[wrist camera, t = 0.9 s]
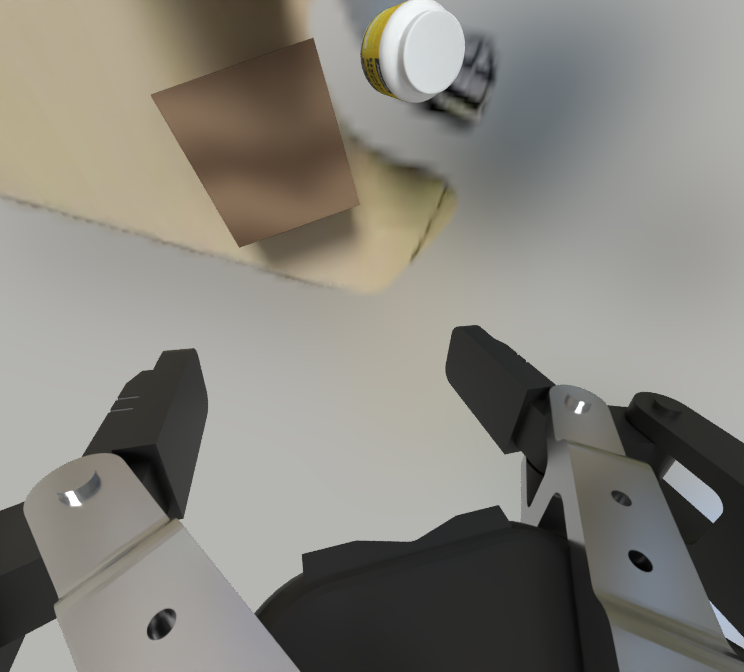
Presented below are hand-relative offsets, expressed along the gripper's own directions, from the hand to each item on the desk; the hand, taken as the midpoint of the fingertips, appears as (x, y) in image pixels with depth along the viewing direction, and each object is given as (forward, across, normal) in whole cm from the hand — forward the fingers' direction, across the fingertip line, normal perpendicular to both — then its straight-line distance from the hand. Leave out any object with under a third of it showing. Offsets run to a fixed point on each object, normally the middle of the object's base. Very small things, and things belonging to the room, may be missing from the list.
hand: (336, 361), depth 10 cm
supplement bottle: (+25, -9, -13) cm, 30 cm away
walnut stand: (+26, +1, -6) cm, 27 cm away
